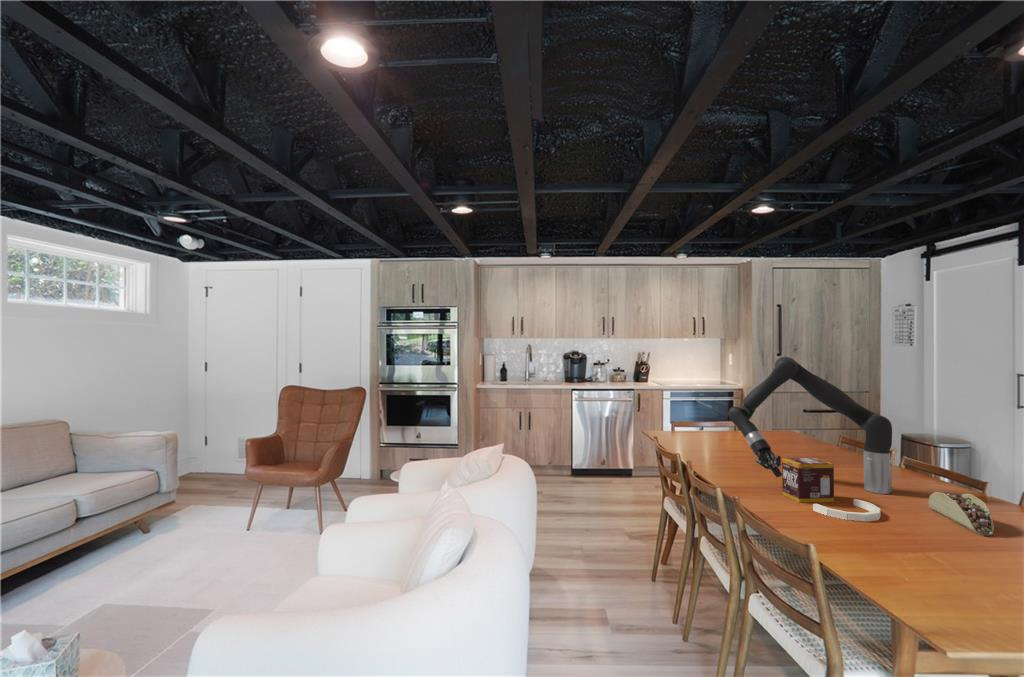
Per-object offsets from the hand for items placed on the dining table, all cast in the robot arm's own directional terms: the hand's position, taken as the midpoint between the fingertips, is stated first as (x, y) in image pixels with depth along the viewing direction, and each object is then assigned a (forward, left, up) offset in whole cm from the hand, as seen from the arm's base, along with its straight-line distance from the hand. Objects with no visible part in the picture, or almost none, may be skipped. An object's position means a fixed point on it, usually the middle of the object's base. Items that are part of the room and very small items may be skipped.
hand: (779, 476), depth 207 cm
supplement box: (0, +14, -6) cm, 15 cm away
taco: (-29, +50, -6) cm, 58 cm away
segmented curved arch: (0, +33, -5) cm, 33 cm away
